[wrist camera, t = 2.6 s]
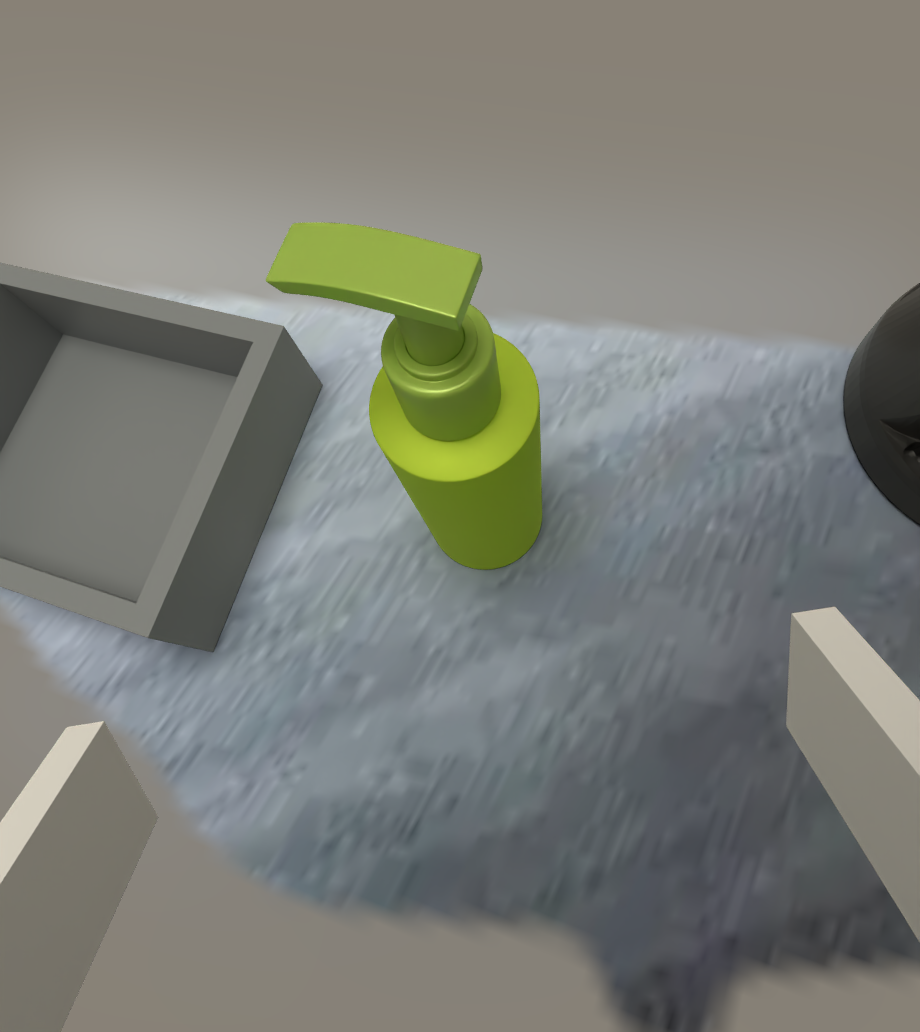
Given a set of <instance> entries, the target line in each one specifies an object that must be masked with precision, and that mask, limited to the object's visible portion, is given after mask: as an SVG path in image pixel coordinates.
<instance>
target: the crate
mask: <svg viewBox="0 0 920 1032" xmlns="http://www.w3.org/2000/svg"><path fill="white" fill-rule="evenodd" d="M321 387H322V383H321V382H320V380H319V379H318V377H317V376H316V374H315V373H314V371H313V370H312V368H311V367H310V365H309V364H308V362H307V361H306V359H305V358H304V356H303V355H302V353H301V351H300V350H299V348H298V347H297V345H296V344H295V342H294V341H293V339H292V338H291V336H290V335H289V333H288V332H287V330H286V329H285V327H284V326H281V325H276V324H272V323H267V322H263V321H258V320H254V319H249V318H245V317H240V316H236V315H232V314H227V313H223V312H218V311H214V310H209V309H205V308H200V307H196V306H191V305H187V304H182V303H178V302H174V301H169V300H165V299H160V298H156V297H151V296H147V295H142V294H138V293H133V292H129V291H124V290H120V289H116V288H111V287H107V286H102V285H98V284H93V283H89V282H84V281H80V280H75V279H71V278H66V277H62V276H58V275H53V274H49V273H44V272H39V271H35V270H31V269H26V268H22V267H17V266H13V265H8V264H4V263H0V587H3V588H6V589H9V590H12V591H15V592H17V593H20V594H23V595H26V596H29V597H32V598H35V599H38V600H40V601H43V602H46V603H49V604H52V605H55V606H58V607H61V608H63V609H66V610H69V611H72V612H75V613H78V614H81V615H84V616H86V617H89V618H92V619H95V620H98V621H101V622H104V623H107V624H109V625H112V626H115V627H118V628H121V629H124V630H127V631H130V632H132V633H135V634H138V635H141V636H144V637H147V638H151V639H155V640H160V641H164V642H169V643H174V644H178V645H183V646H187V647H192V648H196V649H201V650H205V651H210V652H213V651H214V649H215V646H216V644H217V641H218V639H219V636H220V634H221V631H222V629H223V627H224V624H225V622H226V619H227V617H228V614H229V612H230V609H231V607H232V605H233V602H234V600H235V597H236V595H237V592H238V590H239V587H240V585H241V583H242V580H243V578H244V575H245V573H246V570H247V568H248V566H249V563H250V561H251V558H252V556H253V553H254V551H255V548H256V546H257V544H258V541H259V539H260V536H261V534H262V531H263V529H264V526H265V524H266V522H267V519H268V517H269V514H270V512H271V509H272V507H273V504H274V502H275V500H276V497H277V495H278V492H279V490H280V487H281V485H282V482H283V480H284V478H285V475H286V473H287V470H288V468H289V465H290V463H291V460H292V458H293V456H294V453H295V451H296V448H297V446H298V443H299V441H300V438H301V436H302V434H303V431H304V429H305V426H306V424H307V421H308V419H309V417H310V414H311V412H312V409H313V407H314V404H315V402H316V399H317V397H318V395H319V392H320V390H321Z"/></svg>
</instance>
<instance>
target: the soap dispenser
mask: <svg viewBox="0 0 920 1032" xmlns="http://www.w3.org/2000/svg"><path fill="white" fill-rule="evenodd" d="M481 272H482V262H481V255H480V254H478V253H474V252H470V251H467V250H463V249H460V248H456V247H452V246H448V245H444V244H441V243H437V242H433V241H429V240H426V239H421V238H418V237H413V236H409V235H405V234H401V233H397V232H392V231H387V230H382V229H377V228H372V227H366V226H359V225H350V224H340V223H295V224H293V225H292V226H291V228H290V229H289V231H288V234H287V235H286V237H285V239H284V242H283V244H282V246H281V248H280V250H279V252H278V254H277V256H276V259H275V261H274V263H273V265H272V267H271V269H270V271H269V273H268V275H267V278H266V282H268V283H269V284H271V285H272V286H274V287H276V288H277V289H278V290H280V291H282V292H284V293H289V294H300V295H310V296H317V297H323V298H328V299H334V300H338V301H343V302H347V303H352V304H356V305H360V306H364V307H368V308H372V309H375V310H379V311H383V312H387V313H391V314H394V315H395V318H394V319H393V321H392V322H391V323H390V325H389V326H388V328H387V330H386V332H385V334H384V337H383V341H382V346H381V357H382V364H383V367H382V369H381V370H380V372H379V374H378V375H377V378H376V380H375V382H374V385H373V388H372V391H371V396H370V403H369V416H370V423H371V427H372V431H373V434H374V436H375V439H376V441H377V443H378V445H379V446H380V448H381V450H382V451H383V453H384V455H385V456H386V458H387V460H388V461H389V463H390V465H391V466H392V468H393V470H394V471H395V473H396V475H397V476H398V478H399V480H400V481H401V483H402V485H403V486H404V488H405V490H406V491H407V493H408V495H409V496H410V498H411V500H412V501H413V503H414V505H415V506H416V508H417V510H418V511H419V513H420V515H421V516H422V518H423V520H424V521H425V523H426V525H427V526H428V528H429V530H430V531H431V533H432V535H433V536H434V538H435V540H436V541H437V543H438V545H439V546H440V548H441V549H442V550H443V551H444V552H445V553H446V554H447V555H448V556H449V557H450V558H451V559H453V560H454V561H456V562H458V563H459V564H462V565H464V566H467V567H470V568H474V569H483V570H487V569H496V568H500V567H504V566H506V565H509V564H511V563H513V562H515V561H516V560H518V559H519V558H520V557H522V556H523V555H524V554H525V553H526V552H527V551H528V550H529V549H530V548H531V546H532V545H533V543H534V542H535V540H536V538H537V536H538V534H539V531H540V527H541V523H542V487H541V445H540V402H539V389H538V384H537V380H536V377H535V374H534V372H533V369H532V367H531V366H530V364H529V362H528V361H527V359H526V358H525V357H524V355H523V354H522V353H521V352H520V351H519V350H518V349H517V348H516V347H515V346H514V345H513V344H511V343H510V342H509V341H507V340H506V339H504V338H502V337H500V336H498V335H496V334H494V333H493V332H492V329H491V327H490V325H489V323H488V321H487V319H486V318H485V316H484V315H483V314H482V313H481V312H480V311H479V310H478V309H477V308H475V307H474V306H472V305H471V304H469V303H470V301H471V298H472V295H473V293H474V290H475V288H476V284H477V282H478V279H479V277H480V274H481Z"/></svg>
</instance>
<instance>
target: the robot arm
mask: <svg viewBox="0 0 920 1032" xmlns="http://www.w3.org/2000/svg"><path fill="white" fill-rule="evenodd" d="M844 411H845V419H846V424H847V428H848V432H849V435H850V439H851V441H852V444H853V447H854V449H855V451H856V453H857V455H858V457H859V459H860V461H861V463H862V465H863V466H864V468H865V470H866V471H867V473H868V474H869V476H870V477H871V479H872V480H873V481H874V482H875V484H876V485H877V486H878V487H879V489H880V490H881V491H882V492H883V493H884V494H885V495H886V496H887V497H888V499H890V500H891V501H892V502H893V503H894V504H895V505H896V506H897V507H898V508H899V509H900V510H902V511H903V512H904V513H905V514H906V515H908V516H909V517H910V518H912V519H913V520H914V521H916V522H917V523H919V524H920V283H919V284H917V285H916V286H914V287H913V288H912V289H910V290H909V291H908V292H906V293H905V294H904V295H902V296H901V297H900V298H899V299H898V300H897V301H896V302H894V303H893V304H892V305H891V307H890V308H889V309H888V310H887V311H886V312H885V313H884V314H883V316H882V317H881V318H880V319H879V320H878V322H877V323H876V324H875V325H874V326H873V328H872V329H871V330H870V331H869V333H868V334H867V335H866V336H865V338H864V339H863V340H862V342H861V343H860V345H859V347H858V348H857V350H856V352H855V354H854V356H853V359H852V361H851V363H850V366H849V369H848V373H847V377H846V382H845V389H844ZM786 726H787V728H788V730H789V731H790V733H791V735H792V736H793V738H794V739H795V741H796V743H797V744H798V746H799V748H800V749H801V751H802V752H803V754H804V756H805V757H806V759H807V761H808V762H809V764H810V765H811V767H812V769H813V770H814V772H815V773H816V775H817V777H818V778H819V780H820V782H821V783H822V785H823V786H824V788H825V790H826V791H827V793H828V795H829V796H830V798H831V799H832V801H833V803H834V804H835V806H836V808H837V809H838V811H839V812H840V814H841V816H842V817H843V819H844V820H845V822H846V824H847V825H848V827H849V829H850V830H851V832H852V833H853V835H854V837H855V838H856V840H857V842H858V843H859V845H860V846H861V848H862V850H863V851H864V853H865V855H866V856H867V858H868V859H869V861H870V863H871V864H872V866H873V867H874V869H875V871H876V872H877V874H878V876H879V877H880V879H881V880H882V882H883V884H884V885H885V887H886V889H887V890H888V892H889V893H890V895H891V897H892V898H893V900H894V902H895V903H896V905H897V906H898V908H899V910H900V911H901V913H902V915H903V916H904V918H905V919H906V921H907V923H908V924H909V926H910V927H911V929H912V931H913V932H914V934H915V936H916V937H917V939H918V940H919V942H920V700H919V699H918V698H917V697H916V696H915V695H914V694H913V693H912V692H911V690H910V689H909V688H908V687H907V686H906V685H905V684H904V683H903V682H902V680H901V679H900V678H899V677H898V676H897V675H896V674H895V673H894V672H893V671H892V669H891V668H890V667H889V666H888V665H887V664H886V663H885V662H884V661H883V659H882V658H881V657H880V656H879V655H878V654H877V653H876V652H875V651H874V649H873V648H872V647H871V646H870V645H869V644H868V643H867V642H866V641H865V640H864V638H863V637H862V636H861V635H860V634H859V633H858V632H857V631H856V630H855V628H854V627H853V626H852V625H851V624H850V623H849V622H848V621H847V620H846V618H845V617H844V616H843V615H842V614H841V613H840V612H839V611H838V610H837V609H836V607H830V608H823V609H817V610H811V611H804V612H798V613H791V635H790V656H789V677H788V698H787V719H786ZM157 819H158V816H157V814H156V812H155V810H154V808H153V807H152V805H151V803H150V801H149V800H148V798H147V796H146V794H145V792H144V791H143V789H142V787H141V785H140V784H139V782H138V780H137V778H136V777H135V775H134V773H133V771H132V770H131V768H130V766H129V764H128V763H127V761H126V759H125V757H124V755H123V754H122V752H121V750H120V748H119V747H118V745H117V743H116V741H115V740H114V738H113V736H112V734H111V733H110V731H109V729H108V727H107V726H106V724H105V722H104V721H103V722H96V723H90V724H83V725H77V726H71V727H67V728H66V729H65V731H64V732H63V733H62V735H61V736H60V738H59V739H58V741H57V742H56V743H55V745H54V746H53V748H52V749H51V751H50V752H49V753H48V755H47V756H46V758H45V759H44V761H43V762H42V763H41V765H40V766H39V768H38V769H37V771H36V772H35V773H34V775H33V776H32V778H31V779H30V781H29V782H28V784H27V785H26V786H25V788H24V789H23V791H22V792H21V794H20V795H19V797H18V798H17V799H16V801H15V802H14V804H13V805H12V806H11V808H10V809H9V811H8V812H7V814H6V815H5V817H4V818H3V819H2V821H1V822H0V1032H61V1030H62V1028H63V1026H64V1023H65V1021H66V1019H67V1017H68V1015H69V1012H70V1010H71V1008H72V1006H73V1004H74V1001H75V999H76V997H77V995H78V992H79V990H80V988H81V986H82V984H83V982H84V980H85V977H86V975H87V973H88V971H89V968H90V966H91V964H92V962H93V960H94V957H95V955H96V953H97V951H98V949H99V947H100V944H101V942H102V940H103V938H104V935H105V933H106V931H107V929H108V927H109V925H110V922H111V920H112V918H113V916H114V914H115V912H116V909H117V907H118V905H119V903H120V901H121V898H122V896H123V894H124V892H125V889H126V887H127V885H128V883H129V881H130V879H131V876H132V874H133V872H134V870H135V868H136V866H137V863H138V861H139V859H140V857H141V855H142V852H143V850H144V848H145V846H146V844H147V841H148V839H149V837H150V835H151V832H152V830H153V828H154V826H155V824H156V822H157Z"/></svg>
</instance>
